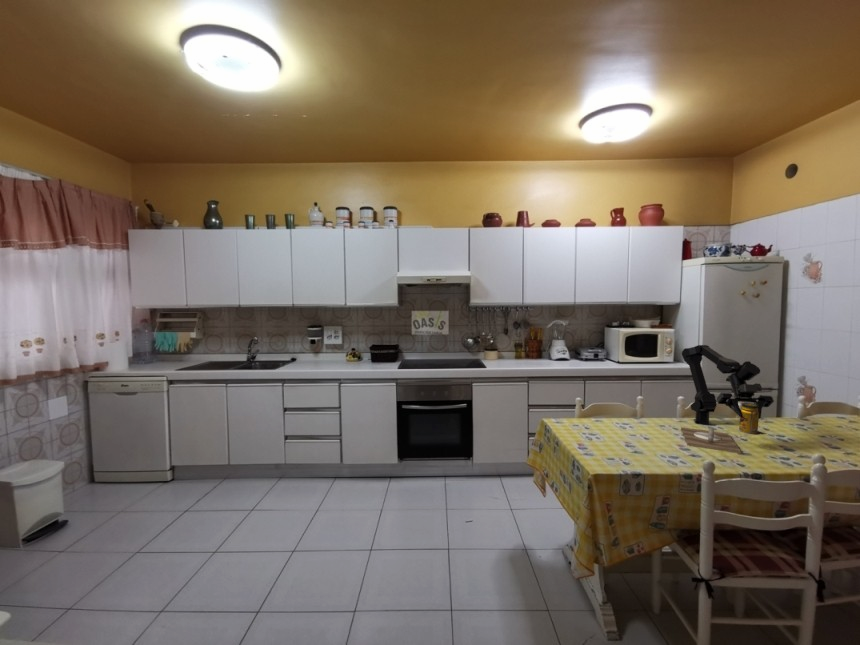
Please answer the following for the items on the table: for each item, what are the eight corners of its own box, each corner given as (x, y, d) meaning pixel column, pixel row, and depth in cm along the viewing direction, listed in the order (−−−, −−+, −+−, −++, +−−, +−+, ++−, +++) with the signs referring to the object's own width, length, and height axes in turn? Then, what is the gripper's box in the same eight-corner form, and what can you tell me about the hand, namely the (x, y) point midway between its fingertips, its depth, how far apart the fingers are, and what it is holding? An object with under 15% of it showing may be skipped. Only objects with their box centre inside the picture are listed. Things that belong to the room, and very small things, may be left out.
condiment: (733, 429, 162) (735, 402, 161) (750, 428, 163) (752, 401, 162) (750, 435, 155) (752, 407, 154) (767, 434, 156) (769, 406, 155)
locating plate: (680, 429, 181) (681, 415, 180) (727, 435, 172) (727, 420, 172) (687, 445, 161) (688, 429, 161) (740, 453, 153) (740, 436, 152)
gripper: (721, 374, 164) (731, 406, 154) (773, 377, 158) (787, 410, 149) (712, 387, 172) (721, 418, 163) (761, 390, 166) (774, 423, 157)
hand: (750, 417), depth 157 cm, fingers closed on condiment, 6 cm apart
